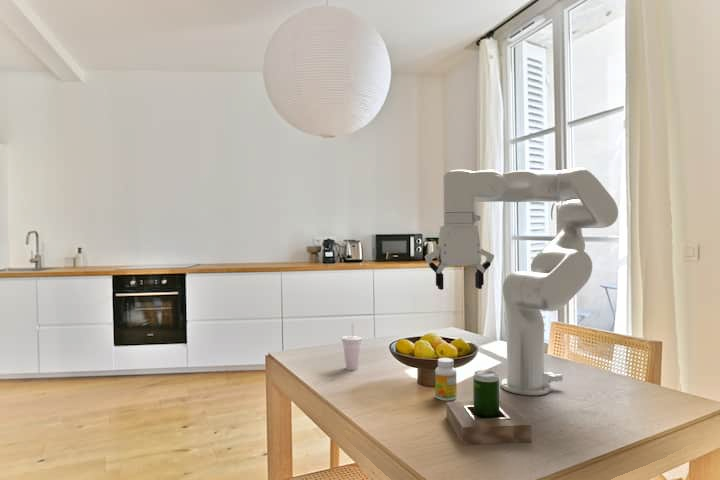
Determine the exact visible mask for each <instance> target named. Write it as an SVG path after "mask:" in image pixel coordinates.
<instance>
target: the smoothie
mask: <svg viewBox="0 0 720 480" xmlns="http://www.w3.org/2000/svg"><path fill="white" fill-rule="evenodd" d="M354 327H355V326H354V323H351V335H345V336H342V337H341V342H342V347H343V353H344V354H343V355H344V361H345V368H346V370H348V371H355V370H359V364H360V356H361V355H360V353H361V347H362V341H363V337H362V336H360V335H354V332H355V331H354V330H355V329H354Z"/></svg>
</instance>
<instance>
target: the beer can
mask: <svg viewBox="0 0 720 480" xmlns="http://www.w3.org/2000/svg"><path fill="white" fill-rule="evenodd" d="M472 384H473V385H472V386H473V387H472V388H473V401H474V417H475V418H499V401H500V378H499V374H498V373H497V371H496V372H495V371H492V370H487V369H483V370H482V369H480V370H476V371H474V375H473V383H472Z"/></svg>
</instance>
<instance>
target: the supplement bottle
mask: <svg viewBox="0 0 720 480" xmlns="http://www.w3.org/2000/svg"><path fill="white" fill-rule="evenodd" d="M454 363H455V361H454V359H453V358H449V357H440V358H438V359H437V367H436V368H435V370H434V375H435V377H434V378H435V379H434V383H435V386H434V387H435V388H434V390H435V392H434V393H435V398H436V399H438V400H441V401H446V402H450V401H454V400H456V399H457V390H458V389H457V370H456V368H455V367H453V366H454Z"/></svg>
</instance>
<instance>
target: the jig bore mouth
mask: <svg viewBox="0 0 720 480" xmlns="http://www.w3.org/2000/svg"><path fill="white" fill-rule="evenodd" d="M463 407H464V408H465V410H466V411H467V412H468V414H469V415H470V416H471V418H472V419H473V421H477V420H506V419H510V417H509V416H508V415H507V414H506V413H505V412H504V411H503V410H502V409H501V408H500V407H499V411H500V412H501V413H502V414H503V415H504V416H505V417H503V418H475V417H474V416H473V414H472V413H471V412H470V410H469V409H468V408H472V407H474V406H463Z"/></svg>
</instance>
